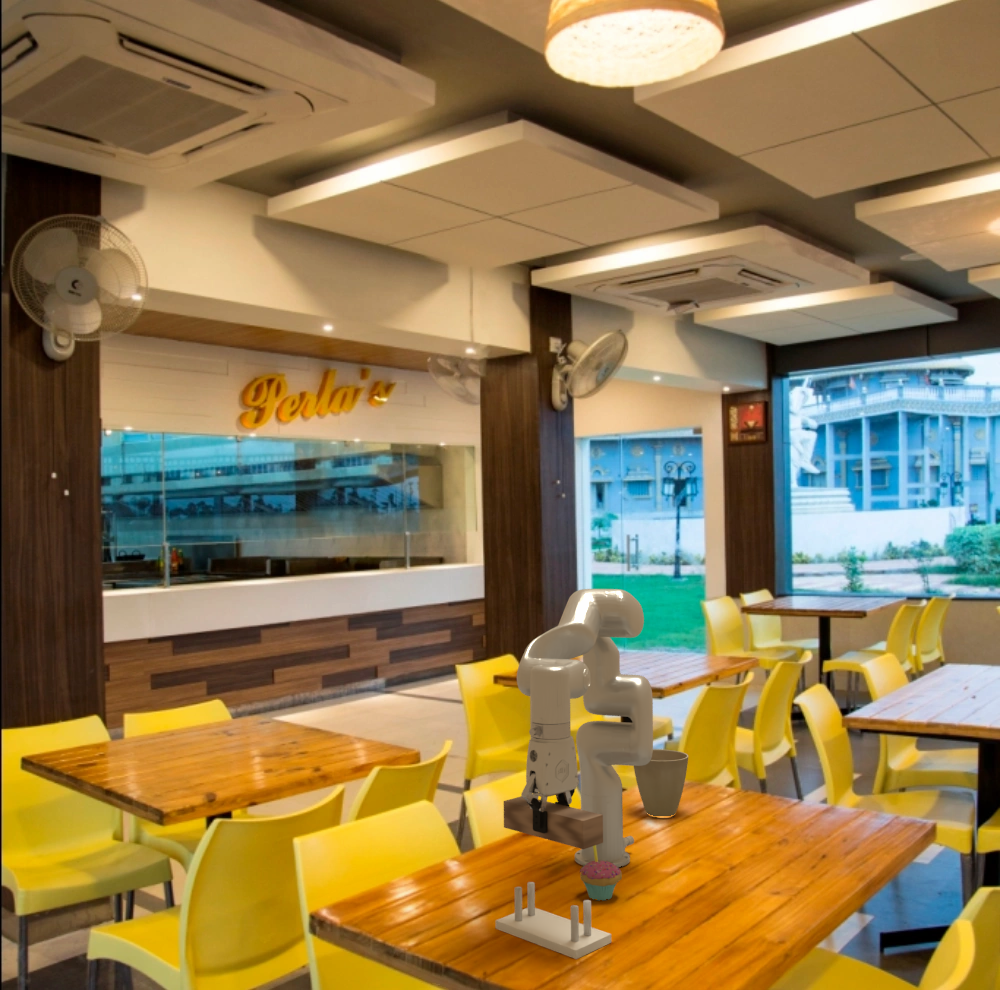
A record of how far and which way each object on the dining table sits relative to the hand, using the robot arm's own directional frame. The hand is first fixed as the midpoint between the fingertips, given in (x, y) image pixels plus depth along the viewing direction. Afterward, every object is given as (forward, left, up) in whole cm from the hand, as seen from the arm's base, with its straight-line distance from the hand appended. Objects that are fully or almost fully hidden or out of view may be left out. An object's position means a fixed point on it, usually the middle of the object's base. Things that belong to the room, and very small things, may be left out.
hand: (551, 827), depth 187 cm
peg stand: (0, 0, -20) cm, 20 cm away
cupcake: (-22, -6, -20) cm, 30 cm away
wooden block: (0, 0, -1) cm, 1 cm away
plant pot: (-80, -32, -20) cm, 89 cm away
